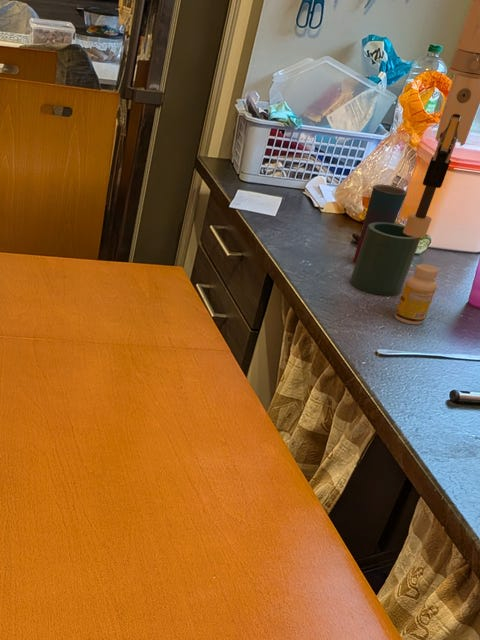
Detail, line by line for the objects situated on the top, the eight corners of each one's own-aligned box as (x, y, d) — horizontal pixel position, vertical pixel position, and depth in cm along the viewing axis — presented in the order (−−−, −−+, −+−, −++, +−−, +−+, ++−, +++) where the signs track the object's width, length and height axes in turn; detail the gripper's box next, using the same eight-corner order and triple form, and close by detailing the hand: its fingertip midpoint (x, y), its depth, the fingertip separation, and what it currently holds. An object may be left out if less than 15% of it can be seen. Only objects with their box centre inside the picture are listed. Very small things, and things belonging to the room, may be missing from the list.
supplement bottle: (397, 311, 180) (416, 260, 173) (425, 319, 178) (445, 267, 172) (390, 319, 176) (410, 267, 170) (419, 327, 174) (440, 275, 168)
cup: (350, 265, 199) (374, 190, 190) (348, 255, 205) (372, 182, 195) (382, 270, 199) (408, 196, 189) (379, 260, 204) (405, 187, 194)
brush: (415, 230, 172) (445, 147, 163) (429, 237, 169) (461, 153, 160) (398, 230, 171) (427, 147, 162) (412, 237, 168) (443, 153, 159)
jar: (380, 276, 196) (399, 221, 188) (411, 294, 188) (432, 238, 181) (340, 277, 192) (358, 222, 185) (369, 296, 185) (389, 239, 178)
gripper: (497, 74, 146) (450, 199, 158) (500, 62, 157) (456, 179, 169) (448, 66, 148) (405, 190, 160) (454, 55, 159) (414, 171, 171)
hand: (432, 183), depth 165 cm, fingers closed on brush
